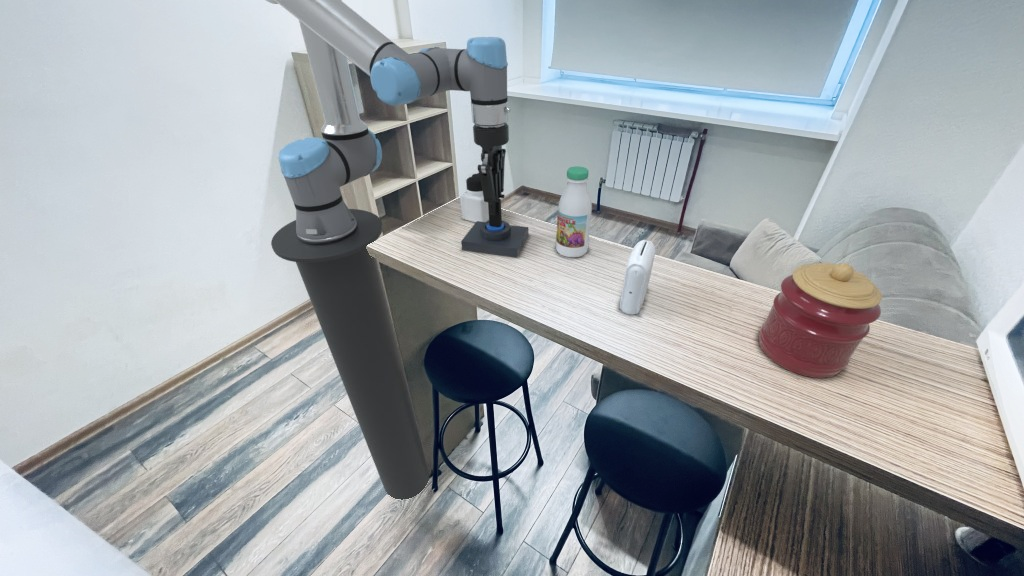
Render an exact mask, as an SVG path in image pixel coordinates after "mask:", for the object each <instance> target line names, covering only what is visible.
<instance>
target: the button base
mask: <svg viewBox="0 0 1024 576" xmlns="http://www.w3.org/2000/svg"><path fill="white" fill-rule="evenodd" d="M488 223H489V220H488V221H487V222H480V221H477V222H474V224H473V225H472V226H471V228H470V229H469V230H468V232H466V234H465V235H464V237H463V238H462V240H461V250H462V251H465V252H466V251H468V252H473V253H482V254H488V255H495V256H496V255H497V256H504V257H510V258H518V256H519V254H520V253H521V251H522V249H523V247H524V245H525V244H526V241H527V239H528V237H529V227H528V226H522V225H521V226H520V225H513V224H510V223H509V222H508V221H505V220H502V223H503V224H504V230H501V231H497V232H492V231H488V230H487V229H486V225H487V224H488Z"/></svg>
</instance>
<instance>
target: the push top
mask: <svg viewBox="0 0 1024 576" xmlns="http://www.w3.org/2000/svg"><path fill="white" fill-rule="evenodd" d="M486 229H487V230H488V231H492V232H497V231H501V230H504V224H503V223H502V224H501V226H500V227H499V226H490V225H489V223H488V224H487V225H486Z"/></svg>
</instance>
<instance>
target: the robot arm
mask: <svg viewBox="0 0 1024 576" xmlns="http://www.w3.org/2000/svg"><path fill="white" fill-rule="evenodd" d="M265 1H266V2H267V3H270V4H274V5H280V6H281V7H282V8H284V9H285V10H286V11H287V13H288V12H289V13H290V14H291V15H292V16H293V17H295V19H297V20H298V23H299V28H300V31H301V35H302V38H303V42H304V46H305V50H306V54H307V58H308V62H309V65H310V69H311V73H312V77H313V80H314V85H315V88H316V92H317V96H318V100H319V104H320V107H321V111H322V115H323V119H324V123H323V125H322V127H320V132H321V136H322V138H321V137H316V136H314V137H313V136H312V137H306V138H303V139H297V140H294V141H291V142H290V143H288V144H286V145H284V146H283V147H281V149H280V150H279V152H278V158H277V159H278V162H279V166H280V172H281V174H282V176H283V178H284V180H285V183H286V186H287V188H288V192H289V194H290V197H291V200H292V203H293V205H294V208H295V220H296V233H297V236H298V239H299V240H300V241H301V242H302V243H305V244H309V245H326V244H331V243H335V242H339V241H341V240H344V239H346V238H348V237H350V236H351V235H352V234H354V233H355V232H356V230H357V228H358V226H357V222H356V219H355V217H354V216H353V214H352V213H351V211H350V210H349V209H350V208H349V207H348V206H347V204H346V202H345V201H344V198H343V195H342V191H341V187H343V186H345V185H347V184H350V183H352V182H354V181H356V180H359V179H361V178H364V177H367V176H369V175H370V174H371V173H373V172H375V171H376V170H377V169H378V168H379V167H380V165H381V163H382V159H383V150H382V149H383V148H382V146H381V142H380V140H379V139H378V138H376V134H375V133H374V132H373V131H372V130H370V129H369V127H368V124H367V123H365V122H364V121H363V120H362V119H361V117H360V113H359V107H358V102H357V98H356V94H355V88H354V84H353V78H352V75H351V70H350V65H349V61H350V62H351V63H352V64H353V65H355V66H356V67H357V68H359V70H360V71H362V72H363V73H364V74H366V75H367V76H368V77H370V84H371V87H372V89H373V91H374V92H375V93H376V95H377V98H378V99H379V100H380V101H381V102H383V103H384V104H386V105H388V106H391V107H392V106H394V107H396V106H400V105H407V104H412V103H414V102H415V101H418V100H421V99H424V98H427V97H431V96H434V95H437V94H440V93H444V92H447V91H459V92H469V94H470V108H471V122H472V123H473V124H474V125H473V126H472V132H473V133H472V134H473V142H474V144H475V145H476V146H478V147H480V148H481V153H480V161H481V164H478V165H477V171H478V172H477V173H479V174H480V179H481V185H482V191H483V197H484V202H488V210H489V220H488V221H489V225H490V226H499V227H500V226H501V224H502V221H503V219H502V199H505V194H504V191H505V189H504V188H505V161H506V153H507V151H506V150H507V149H506V148H502V147H503V146H505V145H506V144H508V142H509V141H510V135H509V134H510V133H509V131H510V129H509V124H508V123H507V122H509V113H510V112H511V107H509V106H508V105H509V103H508V102H509V101H508V99H509V98H508V66H509V63H508V57H507V45H506V42H505V40H504V39H503V38H502V37H500V36H477V37H471V38H468V39H467V41H466V48H463V49H462V48H443V47H438V46H434V47H424V48H422V49H420V51H418V52H416V53H408V52H407V51H405V50H404V49H403V48H401V47H400V46H399V45H397V44H396V43H395V42H393V41H392V40H391V39H390V38H388V37H387V36H386V35H385V34H384V33H382V32H381V31H380V30H378V29H377V28H376V27H375V26H374V25H372V24H371V23H370V22H369V21H367V20H366V19H365V18H363V17H362V15H360V14H359V13H357V12H356V11H355V10H353V9H352V8H351V7H350V6H348V5H347V4H346V3H345V2H344V1H343V0H265ZM502 193H503V194H502Z"/></svg>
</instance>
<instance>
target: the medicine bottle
mask: <svg viewBox="0 0 1024 576" xmlns="http://www.w3.org/2000/svg"><path fill="white" fill-rule="evenodd" d="M464 181H465V189H466V191H465V192H463V193H461V194H460V195H459V200H460V201H459V202H460V209H461V218H462V220H465V221H469V222H472V223H476V222H477V221H480V222H487V221H489V210H488V202H484V197H483V191H482V185H481V179H480V174H479V172H473V173H470V174H467V176H466V177H465V180H464Z"/></svg>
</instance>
